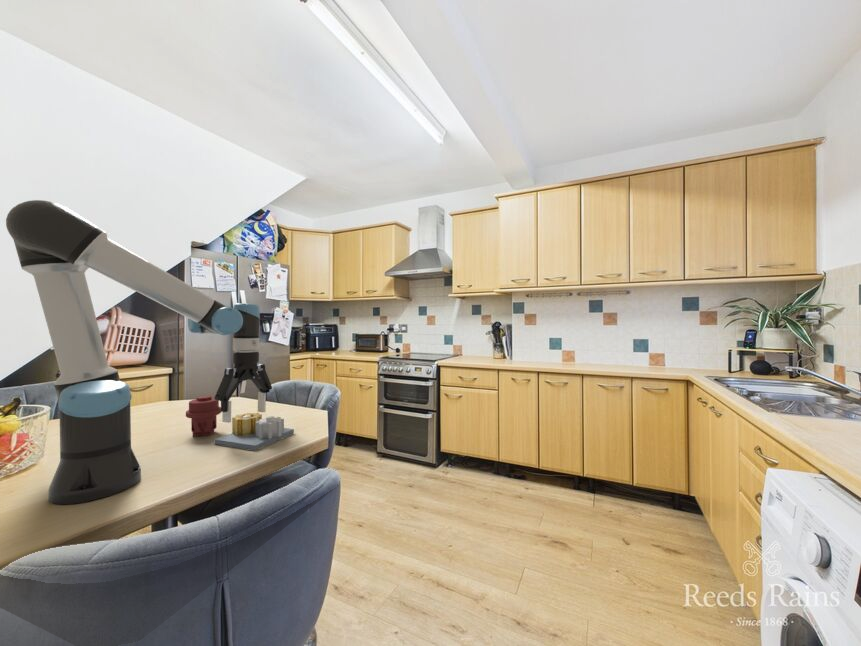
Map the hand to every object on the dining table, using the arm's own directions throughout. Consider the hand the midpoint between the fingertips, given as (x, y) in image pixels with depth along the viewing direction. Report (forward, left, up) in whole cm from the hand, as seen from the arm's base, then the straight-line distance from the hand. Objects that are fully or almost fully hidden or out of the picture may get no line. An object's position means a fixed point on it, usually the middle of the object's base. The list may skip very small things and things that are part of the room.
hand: (245, 416), depth 114 cm
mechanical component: (-3, +15, -7) cm, 17 cm away
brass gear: (+1, 0, -5) cm, 5 cm away
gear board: (-1, -5, -6) cm, 8 cm away
